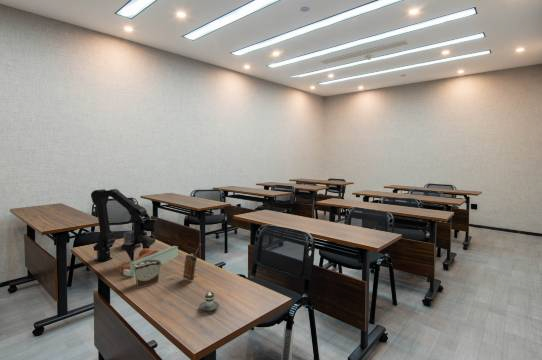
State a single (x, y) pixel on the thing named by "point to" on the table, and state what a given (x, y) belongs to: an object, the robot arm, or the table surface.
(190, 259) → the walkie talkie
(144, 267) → the food container
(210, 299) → the grey knobbed lid
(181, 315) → the table surface
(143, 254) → the crank
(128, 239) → the small box
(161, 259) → the chute mount
